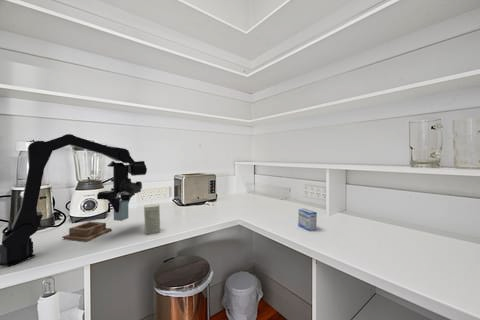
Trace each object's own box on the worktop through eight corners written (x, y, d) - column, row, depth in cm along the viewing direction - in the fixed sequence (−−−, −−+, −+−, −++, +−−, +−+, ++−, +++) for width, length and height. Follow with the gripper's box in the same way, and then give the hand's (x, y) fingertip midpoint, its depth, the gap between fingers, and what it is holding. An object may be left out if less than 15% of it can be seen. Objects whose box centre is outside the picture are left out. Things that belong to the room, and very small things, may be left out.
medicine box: (297, 226, 98) (297, 208, 98) (304, 224, 100) (304, 207, 100) (310, 231, 91) (310, 213, 91) (316, 229, 93) (317, 211, 93)
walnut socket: (86, 241, 78) (86, 232, 78) (62, 239, 80) (62, 229, 80) (111, 230, 90) (111, 222, 90) (90, 228, 92) (90, 220, 92)
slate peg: (121, 220, 85) (121, 202, 85) (113, 220, 86) (113, 202, 86) (128, 218, 89) (128, 200, 89) (120, 217, 90) (120, 200, 90)
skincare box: (160, 229, 92) (160, 203, 92) (159, 232, 88) (159, 205, 88) (145, 231, 90) (145, 204, 90) (144, 234, 86) (144, 207, 85)
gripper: (119, 179, 76) (119, 219, 77) (150, 175, 95) (150, 206, 95) (95, 178, 79) (96, 217, 79) (130, 174, 97) (130, 205, 97)
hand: (121, 211), depth 87 cm, fingers closed on slate peg, 4 cm apart
